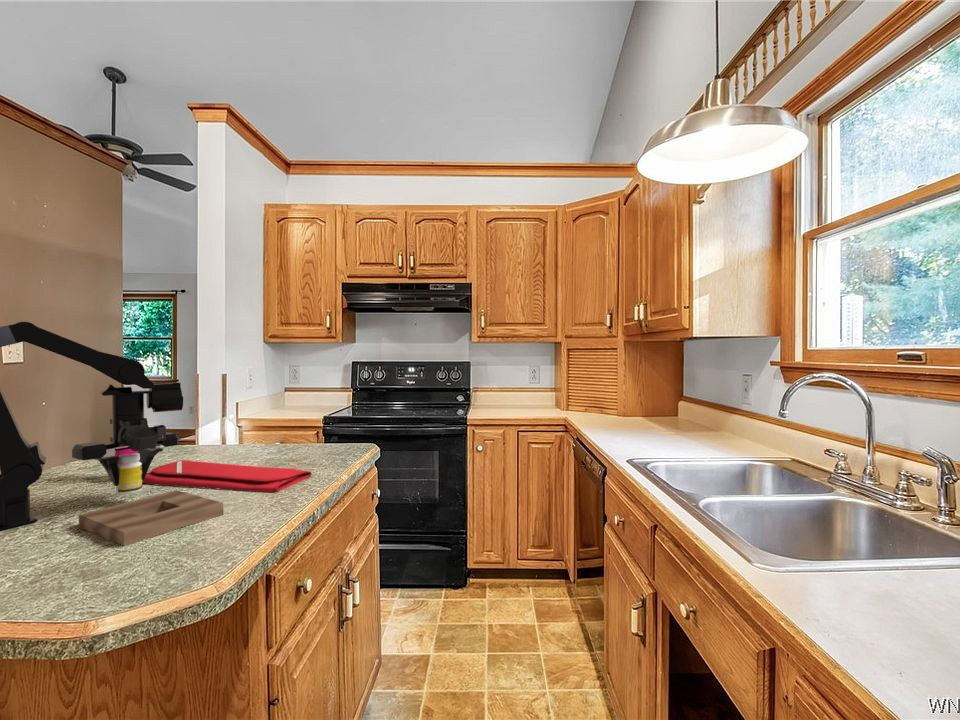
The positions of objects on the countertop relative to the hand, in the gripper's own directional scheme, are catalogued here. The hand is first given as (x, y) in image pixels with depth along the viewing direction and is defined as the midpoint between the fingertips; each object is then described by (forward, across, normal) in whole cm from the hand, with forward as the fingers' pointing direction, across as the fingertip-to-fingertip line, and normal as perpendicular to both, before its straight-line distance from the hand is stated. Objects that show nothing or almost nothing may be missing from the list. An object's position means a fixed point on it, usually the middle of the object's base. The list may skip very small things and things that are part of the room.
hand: (129, 482), depth 105 cm
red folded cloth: (+5, +22, -1) cm, 23 cm away
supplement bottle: (+2, 0, 0) cm, 2 cm away
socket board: (+5, -3, -17) cm, 18 cm away
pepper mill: (+5, +10, +24) cm, 26 cm away
